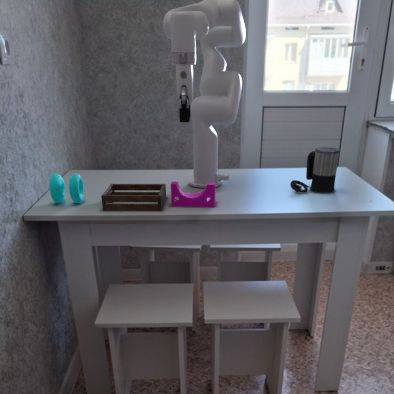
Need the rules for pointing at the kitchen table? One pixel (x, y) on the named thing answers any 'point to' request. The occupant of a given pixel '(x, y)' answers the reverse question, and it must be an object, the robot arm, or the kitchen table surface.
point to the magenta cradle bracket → (193, 196)
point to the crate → (134, 197)
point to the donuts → (59, 188)
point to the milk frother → (320, 171)
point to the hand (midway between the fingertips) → (185, 119)
